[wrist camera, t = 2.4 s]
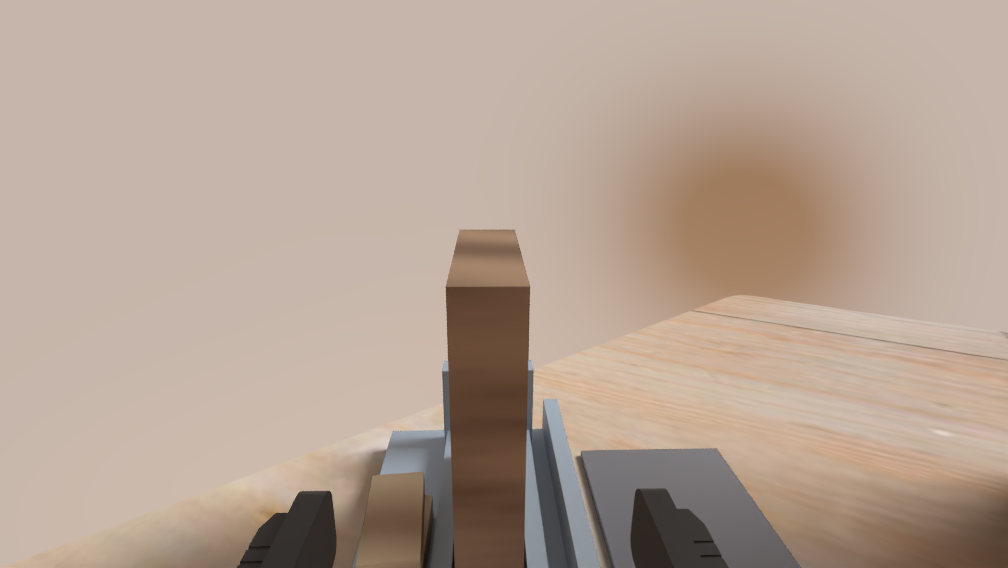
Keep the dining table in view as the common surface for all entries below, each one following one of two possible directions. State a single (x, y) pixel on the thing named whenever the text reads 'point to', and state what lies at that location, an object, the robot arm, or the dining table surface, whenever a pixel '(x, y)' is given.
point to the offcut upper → (393, 522)
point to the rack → (548, 494)
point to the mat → (683, 502)
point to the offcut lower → (427, 528)
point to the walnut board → (488, 397)
